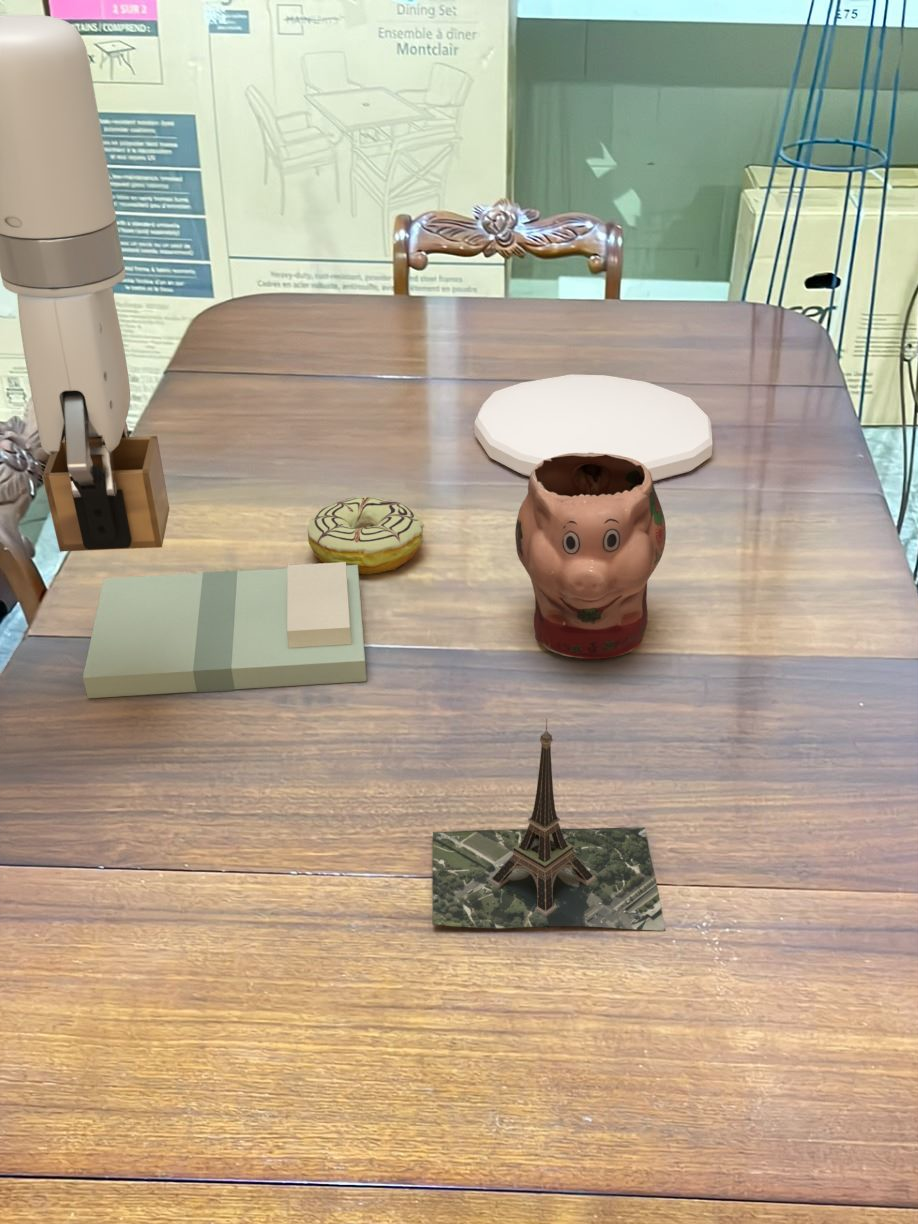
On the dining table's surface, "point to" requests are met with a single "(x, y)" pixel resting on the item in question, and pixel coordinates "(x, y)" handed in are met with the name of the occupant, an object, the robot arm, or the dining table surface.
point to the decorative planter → (590, 551)
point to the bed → (227, 631)
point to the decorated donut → (366, 534)
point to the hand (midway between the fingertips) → (113, 522)
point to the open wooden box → (133, 476)
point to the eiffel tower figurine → (545, 872)
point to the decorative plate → (594, 423)
